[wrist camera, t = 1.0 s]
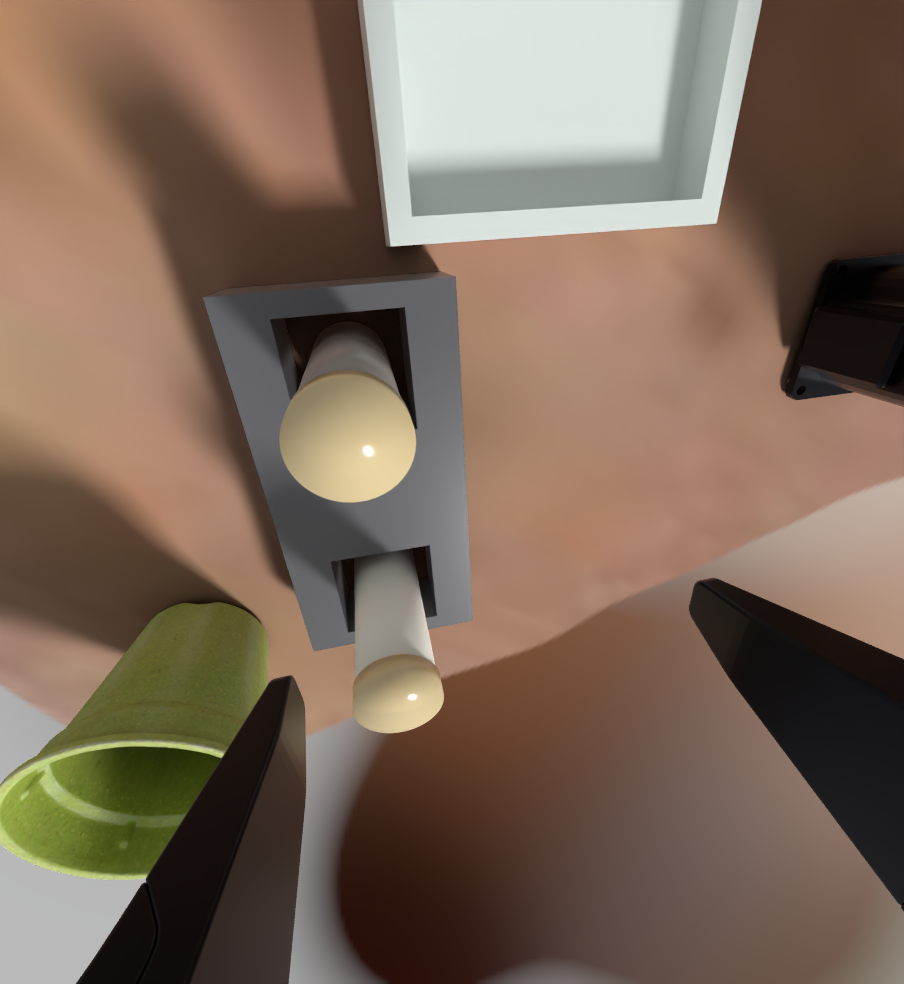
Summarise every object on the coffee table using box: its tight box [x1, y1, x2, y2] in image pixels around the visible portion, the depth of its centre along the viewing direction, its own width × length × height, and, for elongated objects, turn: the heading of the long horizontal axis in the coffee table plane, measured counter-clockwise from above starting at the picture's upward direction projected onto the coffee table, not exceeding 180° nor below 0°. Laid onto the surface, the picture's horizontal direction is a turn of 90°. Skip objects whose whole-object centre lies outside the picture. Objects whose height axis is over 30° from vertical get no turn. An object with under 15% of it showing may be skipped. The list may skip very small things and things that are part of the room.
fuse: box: [353, 548, 444, 733], centre depth 20 cm, size 3×3×9 cm
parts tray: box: [357, 0, 762, 247], centre depth 14 cm, size 12×10×2 cm
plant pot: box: [0, 602, 269, 880], centre depth 20 cm, size 9×9×9 cm
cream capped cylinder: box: [279, 321, 416, 502], centre depth 15 cm, size 3×3×9 cm
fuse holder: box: [203, 271, 473, 651], centre depth 20 cm, size 8×16×3 cm, turn 3°
